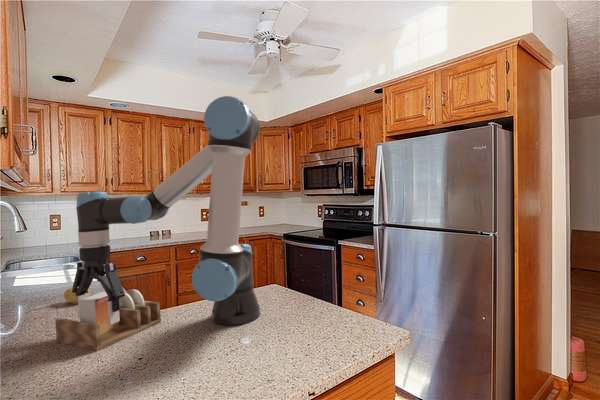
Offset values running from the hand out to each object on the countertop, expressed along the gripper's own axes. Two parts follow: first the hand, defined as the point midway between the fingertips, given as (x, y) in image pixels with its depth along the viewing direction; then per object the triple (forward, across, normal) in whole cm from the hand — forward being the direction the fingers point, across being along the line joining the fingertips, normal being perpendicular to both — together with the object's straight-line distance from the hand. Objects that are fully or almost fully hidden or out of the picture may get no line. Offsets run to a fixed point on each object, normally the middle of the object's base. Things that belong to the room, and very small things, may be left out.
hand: (99, 319), depth 93 cm
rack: (+5, 0, -4) cm, 6 cm away
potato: (+5, +41, -18) cm, 45 cm away
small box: (+4, 0, 0) cm, 4 cm away
